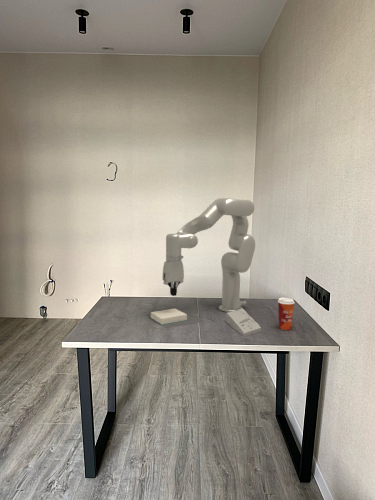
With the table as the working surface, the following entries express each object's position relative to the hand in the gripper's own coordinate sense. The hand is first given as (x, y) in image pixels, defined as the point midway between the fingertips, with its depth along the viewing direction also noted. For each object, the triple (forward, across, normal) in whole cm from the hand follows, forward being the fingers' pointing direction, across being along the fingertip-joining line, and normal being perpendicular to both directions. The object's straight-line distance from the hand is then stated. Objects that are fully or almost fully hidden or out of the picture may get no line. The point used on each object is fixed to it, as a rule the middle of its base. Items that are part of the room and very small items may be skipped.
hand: (173, 295), depth 187 cm
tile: (+10, -4, 0) cm, 11 cm away
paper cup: (+13, -40, +37) cm, 56 cm away
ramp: (+13, -24, +24) cm, 37 cm away
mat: (+13, -1, 0) cm, 13 cm away
